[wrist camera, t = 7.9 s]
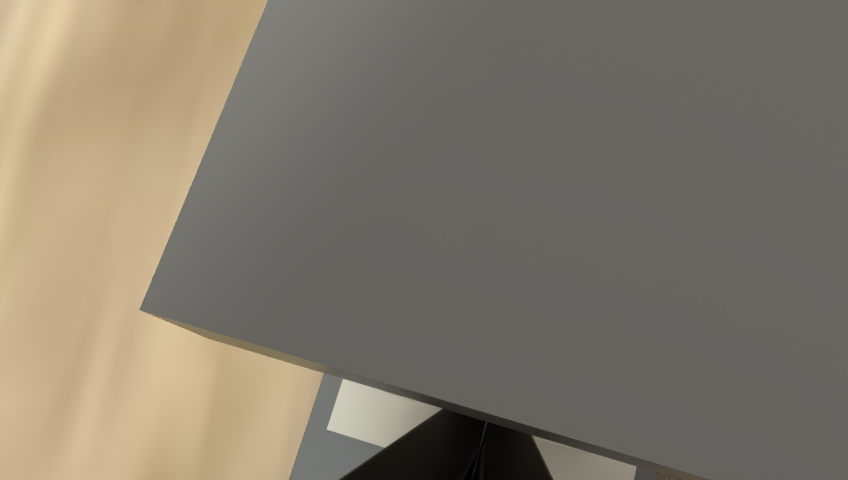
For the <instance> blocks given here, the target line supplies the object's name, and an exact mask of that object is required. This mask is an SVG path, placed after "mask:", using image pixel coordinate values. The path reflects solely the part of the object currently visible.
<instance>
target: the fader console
mask: <svg viewBox="0 0 848 480" xmlns="http://www.w3.org/2000/svg"><path fill="white" fill-rule="evenodd" d="M342 380H343V379H342V378H339V377H336V376H332V375H329V374H326V373H324V375H323V378H322V381H321V384H320V387H319V391H318V394H317V397H316V400H315V403H314V406H313V409H312V412H311V415H310V418H309V421H308V424H307V427H306V430H305V433H304V436H303V439H302V442H301V445H300V448H299V451H298V454H297V457H296V460H295V463H294V466H293V469H292V472H291V475H290V478H289V480H338V479H340V478H341V477H343V476H344V475H346V474H347V473H349V472H350V471H351V470H353V469H354V468H356V467H357V466H359V465H360V464H362V463H363V462H365V461H366V460H368V459H369V458H371V457H372V456H374V455H375V454H376V453H378V452H379V451H381V450H382V449H384V447H381V446H378V445H375V444H371V443H368V442H365V441H362V440H359V439H355V438H352V437H349V436H346V435H343V434H339V433H336V432H333V431H330V430H327V427H328V424H329V421H330V418H331V414H332V411H333V408H334V405H335V402H336V399H337V396H338V393H339V390H340V386H341V383H342ZM657 476H658V473H657V472H653V471H650V470H647V469H643V468H640V467H636V472H635V477H634V480H657ZM472 477H473V476H472Z"/></svg>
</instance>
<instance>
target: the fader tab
mask: <svg viewBox="0 0 848 480" xmlns="http://www.w3.org/2000/svg"><path fill="white" fill-rule="evenodd" d="M140 310H141V311H143V312H146V313H148V314H151V315H153V316H155V317H158V318H160V319H163V320H165V321H167V322H170V323H172V324H175V325H177V326H179V327H182V328H184V329H187V330H189V331H191V332H194V333H196V334H199V335H201V336H203V337H206V338H208V339H212V340H215V341H219V342H222V343H225V344H229V345H232V346H235V347H239V348H242V349H245V350H249V351H252V352H255V353H259V354H262V355H265V356H269V357H272V358H275V359H279V360H282V361H285V362H289V363H292V364H295V365H299V366H302V367H305V368H309V369H312V370H316V371H319V372H322V373H326V374H329V375H332V376H336V377H339V378H342V379H343V380H342V383H341V386H340V390H339V393H338V396H337V399H336V402H335V405H334V408H333V411H332V414H331V418H330V421H329V424H328V427H327V430H330V431H333V432H336V433H339V434H343V435H346V436H349V437H352V438H355V439H359V440H362V441H365V442H368V443H371V444H375V445H378V446H381V447H384V448H385V447H387V446H388V445H390V444H391V443H393V442H394V441H396V440H397V439H398V438H400V437H401V436H403V435H404V434H406V433H407V432H409V431H410V430H412V429H413V428H415V427H416V426H418V425H419V424H420V423H422V422H423V421H425V420H426V419H428V418H429V417H431V416H432V415H434V414H435V413H437V412H438V411H440V410H441V409H442V408H443V409H446V410H449V411H453V412H456V413H459V414H463V415H466V416H469V417H473V418H476V419H479V420H483V421H486V423H487V422H489V423H493V424H496V425H500V426H503V427H506V428H510V429H513V430H516V431H520V432H523V433H526V434H530V435H532V436H533V438H534V441H535V443H536V445H537V447H538V449H539V451H540V453H541V455H542V457H543V459H544V461H545V463H546V465H547V467H548V469H549V471H550V473H551V476H552V478H553V480H634V477H635V472H636V467H640V468H643V469H647V470H650V471H653V472H657V473H660V474H663V475H667V476H670V477H673V478H677V479H680V480H848V0H268V2H267V4H266V7H265V9H264V12H263V14H262V16H261V19H260V21H259V24H258V26H257V28H256V31H255V33H254V36H253V38H252V40H251V43H250V45H249V48H248V50H247V52H246V55H245V57H244V60H243V62H242V65H241V67H240V69H239V72H238V74H237V77H236V79H235V81H234V84H233V86H232V89H231V91H230V93H229V96H228V98H227V101H226V103H225V105H224V108H223V110H222V113H221V115H220V117H219V120H218V122H217V125H216V127H215V129H214V132H213V134H212V137H211V139H210V142H209V144H208V146H207V149H206V151H205V154H204V156H203V158H202V161H201V163H200V166H199V168H198V170H197V173H196V175H195V178H194V180H193V182H192V185H191V187H190V190H189V192H188V194H187V197H186V199H185V202H184V204H183V207H182V209H181V211H180V214H179V216H178V219H177V221H176V223H175V226H174V228H173V231H172V233H171V235H170V238H169V240H168V243H167V245H166V247H165V250H164V252H163V255H162V257H161V259H160V262H159V264H158V267H157V269H156V271H155V274H154V276H153V279H152V281H151V284H150V286H149V288H148V291H147V293H146V296H145V298H144V300H143V303H142V305H141V308H140ZM485 427H486V425H485ZM484 430H485V429H484ZM483 434H484V433H483ZM482 438H483V437H482ZM481 442H482V441H481ZM480 446H481V445H480ZM479 450H480V449H479ZM474 469H475V468H474ZM473 473H474V472H473Z"/></svg>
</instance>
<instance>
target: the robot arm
mask: <svg viewBox="0 0 848 480" xmlns="http://www.w3.org/2000/svg"><path fill="white" fill-rule="evenodd" d="M485 425H486V427H485ZM484 429H485V430H484ZM483 433H484V434H483ZM482 437H483V438H482ZM481 441H482V442H481ZM480 445H481V446H480ZM479 449H480V450H479ZM474 468H475V469H474ZM473 472H474V473H473ZM472 476H473V477H472ZM338 480H553V478H552V476H551V473H550V471H549V469H548V467H547V465H546V463H545V461H544V459H543V457H542V455H541V453H540V451H539V449H538V447H537V445H536V443H535V441H534V438H533V436H532V435H530V434H526V433H523V432H520V431H516V430H513V429H510V428H506V427H503V426H500V425H496V424H493V423H489V422H487V423H486V421H483V420H479V419H476V418H473V417H469V416H466V415H463V414H459V413H456V412H453V411H449V410H446V409H443V408H442V409H441V410H440V411H438V412H437V413H435V414H434V415H432V416H431V417H429V418H428V419H426V420H425V421H423V422H422V423H420V424H419V425H418V426H416V427H415V428H413V429H412V430H410V431H409V432H407V433H406V434H404V435H403V436H401V437H400V438H398V439H397V440H396V441H394V442H393V443H391V444H390V445H388V446H387V447H385V448H384V449H382V450H381V451H379V452H378V453H376V454H375V455H374V456H372V457H371V458H369V459H368V460H366V461H365V462H363V463H362V464H360V465H359V466H357V467H356V468H354V469H353V470H351V471H350V472H349V473H347V474H346V475H344V476H343V477H341V478H340V479H338Z"/></svg>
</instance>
